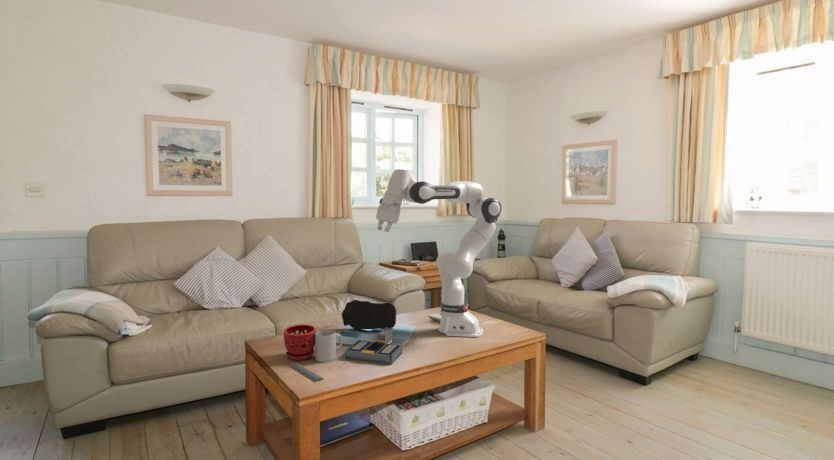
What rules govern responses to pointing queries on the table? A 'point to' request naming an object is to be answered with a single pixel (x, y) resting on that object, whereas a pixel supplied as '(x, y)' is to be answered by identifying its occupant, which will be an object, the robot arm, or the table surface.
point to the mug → (326, 345)
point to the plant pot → (299, 341)
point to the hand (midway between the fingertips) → (382, 230)
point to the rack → (374, 351)
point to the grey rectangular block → (386, 335)
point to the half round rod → (306, 372)
